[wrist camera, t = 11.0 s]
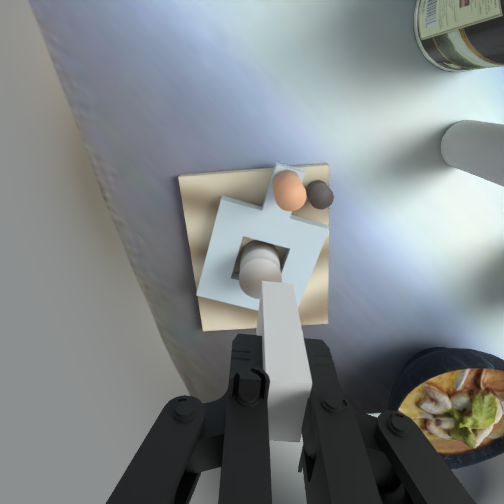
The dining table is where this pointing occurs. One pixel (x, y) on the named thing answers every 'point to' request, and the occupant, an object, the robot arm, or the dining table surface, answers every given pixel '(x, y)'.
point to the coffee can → (461, 33)
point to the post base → (252, 193)
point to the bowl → (455, 402)
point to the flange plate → (263, 238)
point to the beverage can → (476, 149)
